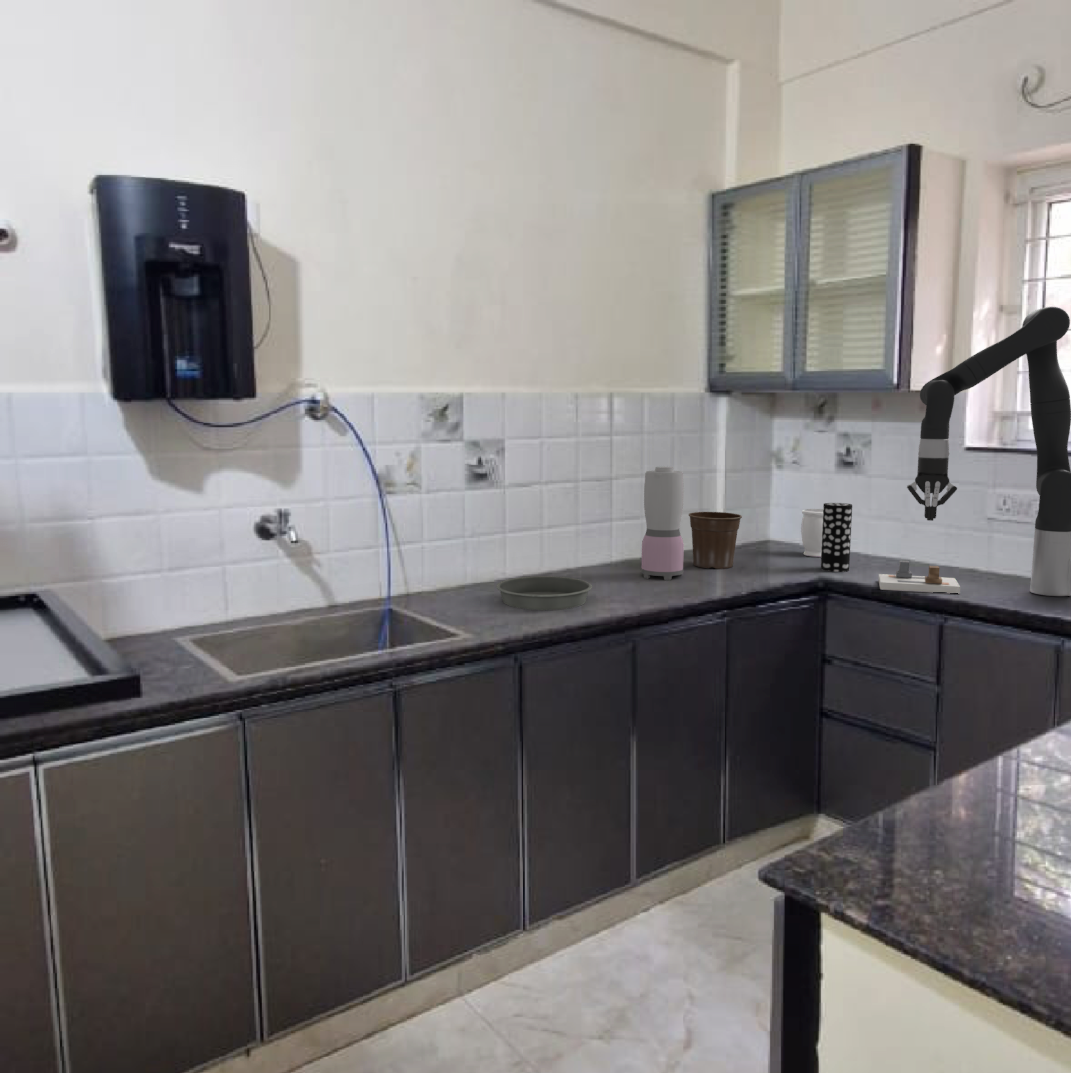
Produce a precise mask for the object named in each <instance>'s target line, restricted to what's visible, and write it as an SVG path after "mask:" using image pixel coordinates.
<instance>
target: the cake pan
mask: <svg viewBox="0 0 1071 1073" xmlns="http://www.w3.org/2000/svg"><path fill="white" fill-rule="evenodd" d="M495 587H496V589H497V590H498V591H499V592H500V595H501V598H502V602H503V604H505V605H507V606H509V607H512V608H515V609H516V608H517V609H523V610H531V611H532V610H533V611H554V610H555V611H556V610H566V609H573V608H577V607H580V606H582V605H584V604H585V603H586V602H587V596H588V593H589V591H591V589H592V588H593V585H592V584H591V583H590V582H588V581H586V580H583V579H579V578H573V577H567V576H553V575H552V576H551V575H547V576H545V575H544V576H543V575H542V576H541V575H539V576H538V575H536V576H524V577H523V576H521V577H515V578H509V579H505V580H502V581H500V582H498V583H497V584H496V586H495Z"/></svg>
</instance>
